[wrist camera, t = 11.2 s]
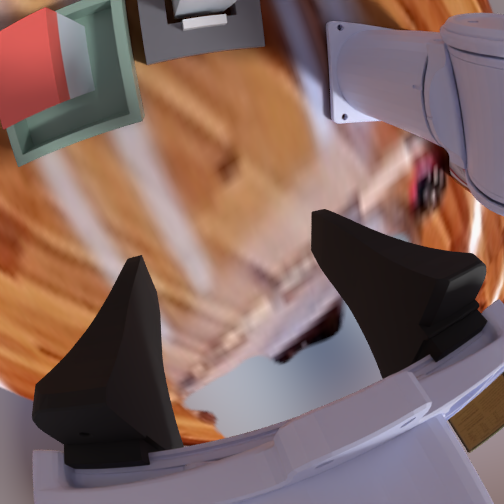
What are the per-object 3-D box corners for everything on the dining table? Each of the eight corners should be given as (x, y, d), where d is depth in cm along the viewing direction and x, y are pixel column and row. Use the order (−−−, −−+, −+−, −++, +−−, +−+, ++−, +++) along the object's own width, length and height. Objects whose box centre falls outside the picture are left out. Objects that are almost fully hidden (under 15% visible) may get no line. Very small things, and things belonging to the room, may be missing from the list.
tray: (124, -3, 11) (120, -13, 10) (144, 114, 17) (142, 120, 15) (7, 46, 10) (-10, 46, 8) (32, 155, 15) (18, 167, 13)
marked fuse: (84, 26, 11) (45, 7, 6) (95, 90, 14) (60, 103, 9) (41, 44, 11) (-14, 39, 5) (52, 106, 14) (3, 130, 8)
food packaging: (423, 344, 51) (486, 436, 32) (396, 350, 47) (465, 457, 28) (461, 293, 45) (539, 388, 25) (439, 294, 41) (528, 406, 22)
